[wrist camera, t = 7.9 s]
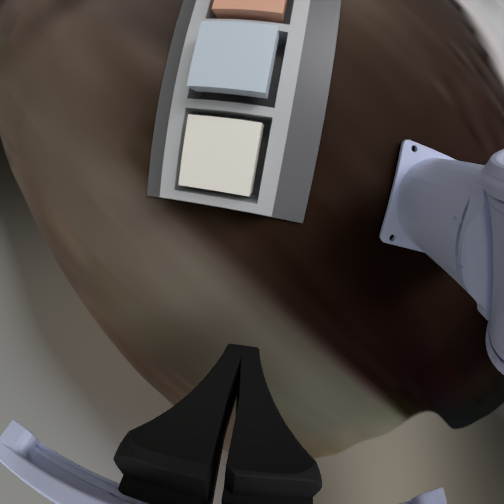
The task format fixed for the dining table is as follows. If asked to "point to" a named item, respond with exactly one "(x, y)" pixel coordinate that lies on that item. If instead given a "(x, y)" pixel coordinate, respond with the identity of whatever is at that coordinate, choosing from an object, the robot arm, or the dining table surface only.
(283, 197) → the keypad
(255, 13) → the terracotta key
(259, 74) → the bluegrey key
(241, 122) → the ivory key
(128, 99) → the dining table surface
